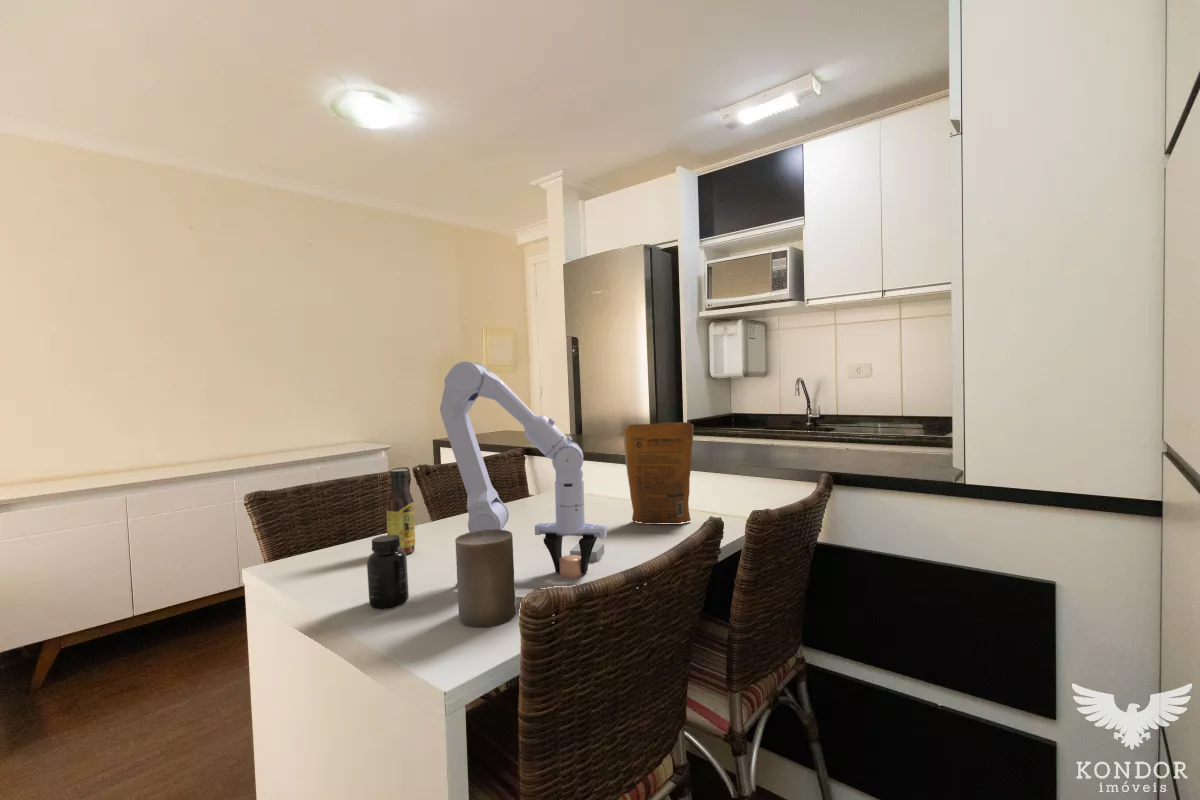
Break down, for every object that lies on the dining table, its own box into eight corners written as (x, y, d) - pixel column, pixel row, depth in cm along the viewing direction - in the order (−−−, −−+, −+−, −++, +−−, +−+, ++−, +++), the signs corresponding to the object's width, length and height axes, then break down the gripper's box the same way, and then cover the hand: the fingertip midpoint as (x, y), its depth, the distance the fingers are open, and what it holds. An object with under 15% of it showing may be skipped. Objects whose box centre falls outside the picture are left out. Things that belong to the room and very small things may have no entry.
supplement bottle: (396, 592, 107) (393, 531, 106) (416, 601, 102) (413, 536, 102) (361, 604, 101) (358, 539, 101) (381, 613, 97) (378, 545, 97)
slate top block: (597, 561, 118) (596, 552, 118) (570, 560, 119) (570, 550, 119) (604, 552, 124) (604, 543, 124) (578, 551, 125) (578, 542, 125)
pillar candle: (527, 613, 95) (524, 526, 95) (480, 633, 88) (477, 539, 88) (492, 600, 102) (489, 519, 101) (446, 618, 94) (442, 530, 94)
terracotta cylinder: (569, 584, 108) (569, 564, 108) (554, 578, 111) (554, 558, 111) (588, 578, 111) (588, 558, 111) (573, 572, 114) (573, 553, 114)
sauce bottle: (410, 556, 129) (406, 471, 129) (383, 557, 130) (380, 472, 129) (419, 548, 136) (416, 467, 135) (394, 548, 136) (391, 468, 136)
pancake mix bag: (695, 527, 148) (693, 422, 148) (625, 525, 152) (622, 423, 151) (696, 520, 155) (693, 421, 154) (628, 519, 159) (626, 421, 158)
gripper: (609, 500, 113) (611, 566, 113) (542, 498, 116) (544, 562, 117) (601, 508, 106) (602, 578, 106) (530, 506, 109) (532, 574, 110)
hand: (571, 571), depth 111 cm, fingers closed on terracotta cylinder, 5 cm apart
